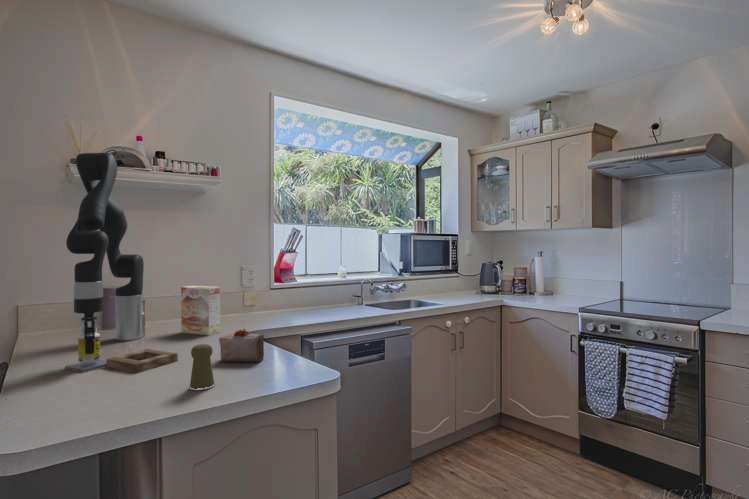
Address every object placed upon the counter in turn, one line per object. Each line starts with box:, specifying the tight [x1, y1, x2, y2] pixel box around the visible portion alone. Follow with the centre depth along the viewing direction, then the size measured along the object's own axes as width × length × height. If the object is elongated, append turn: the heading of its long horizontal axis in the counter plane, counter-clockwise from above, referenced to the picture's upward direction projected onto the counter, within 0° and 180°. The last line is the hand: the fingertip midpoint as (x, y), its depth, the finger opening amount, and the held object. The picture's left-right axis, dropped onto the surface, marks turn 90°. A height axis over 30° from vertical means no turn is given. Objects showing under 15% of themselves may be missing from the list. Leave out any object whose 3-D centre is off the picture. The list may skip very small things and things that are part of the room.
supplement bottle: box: [77, 326, 101, 363], centre depth 131 cm, size 6×6×10 cm
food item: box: [218, 328, 265, 363], centre depth 138 cm, size 14×8×10 cm, turn 87°
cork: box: [189, 343, 215, 389], centre depth 112 cm, size 6×6×11 cm
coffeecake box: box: [180, 285, 221, 336], centre depth 181 cm, size 15×7×20 cm, turn 68°
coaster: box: [64, 358, 107, 373], centre depth 131 cm, size 9×9×1 cm
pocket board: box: [105, 348, 179, 373], centre depth 134 cm, size 14×14×2 cm
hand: (89, 351), depth 131 cm, fingers closed on supplement bottle, 5 cm apart
